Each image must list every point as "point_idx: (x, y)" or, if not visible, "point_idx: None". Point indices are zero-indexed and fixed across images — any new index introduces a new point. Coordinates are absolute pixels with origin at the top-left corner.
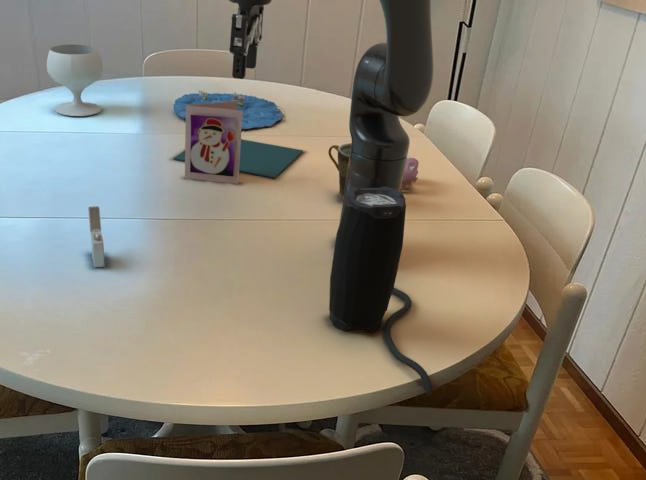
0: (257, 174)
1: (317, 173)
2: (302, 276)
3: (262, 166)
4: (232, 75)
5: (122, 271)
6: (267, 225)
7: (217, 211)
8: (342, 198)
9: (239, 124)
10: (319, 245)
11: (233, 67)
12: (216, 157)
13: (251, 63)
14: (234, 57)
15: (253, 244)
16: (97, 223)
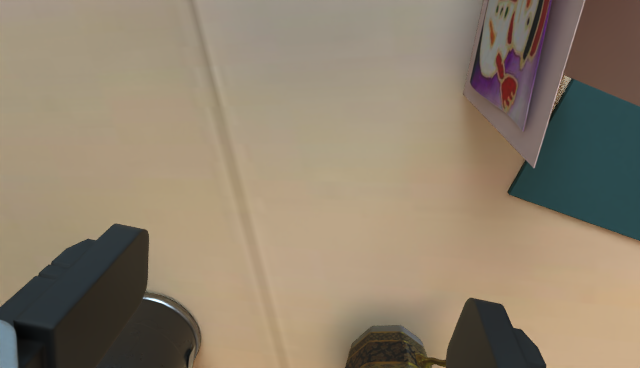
0: None
1: (554, 295)
2: (3, 226)
3: (600, 162)
4: (114, 225)
5: None
6: (203, 169)
7: (255, 45)
8: (368, 330)
9: (515, 138)
10: None
11: (80, 260)
12: (497, 28)
13: (458, 362)
14: (30, 315)
15: (98, 139)
16: None
